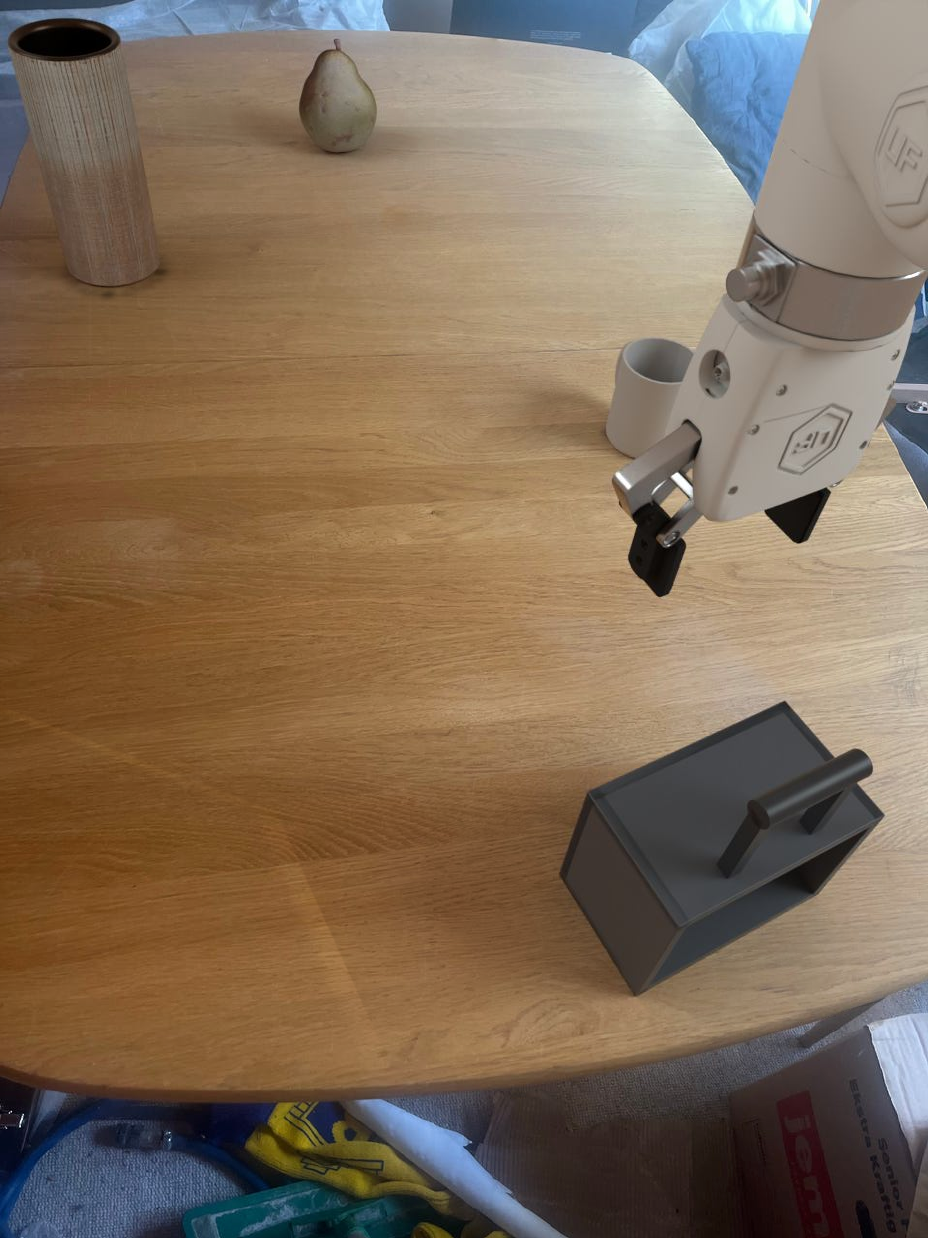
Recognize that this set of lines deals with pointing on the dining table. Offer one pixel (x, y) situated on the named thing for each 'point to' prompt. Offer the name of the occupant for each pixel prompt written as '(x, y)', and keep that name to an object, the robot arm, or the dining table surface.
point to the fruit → (337, 103)
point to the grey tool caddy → (714, 842)
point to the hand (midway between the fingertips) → (717, 552)
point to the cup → (645, 392)
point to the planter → (87, 147)
